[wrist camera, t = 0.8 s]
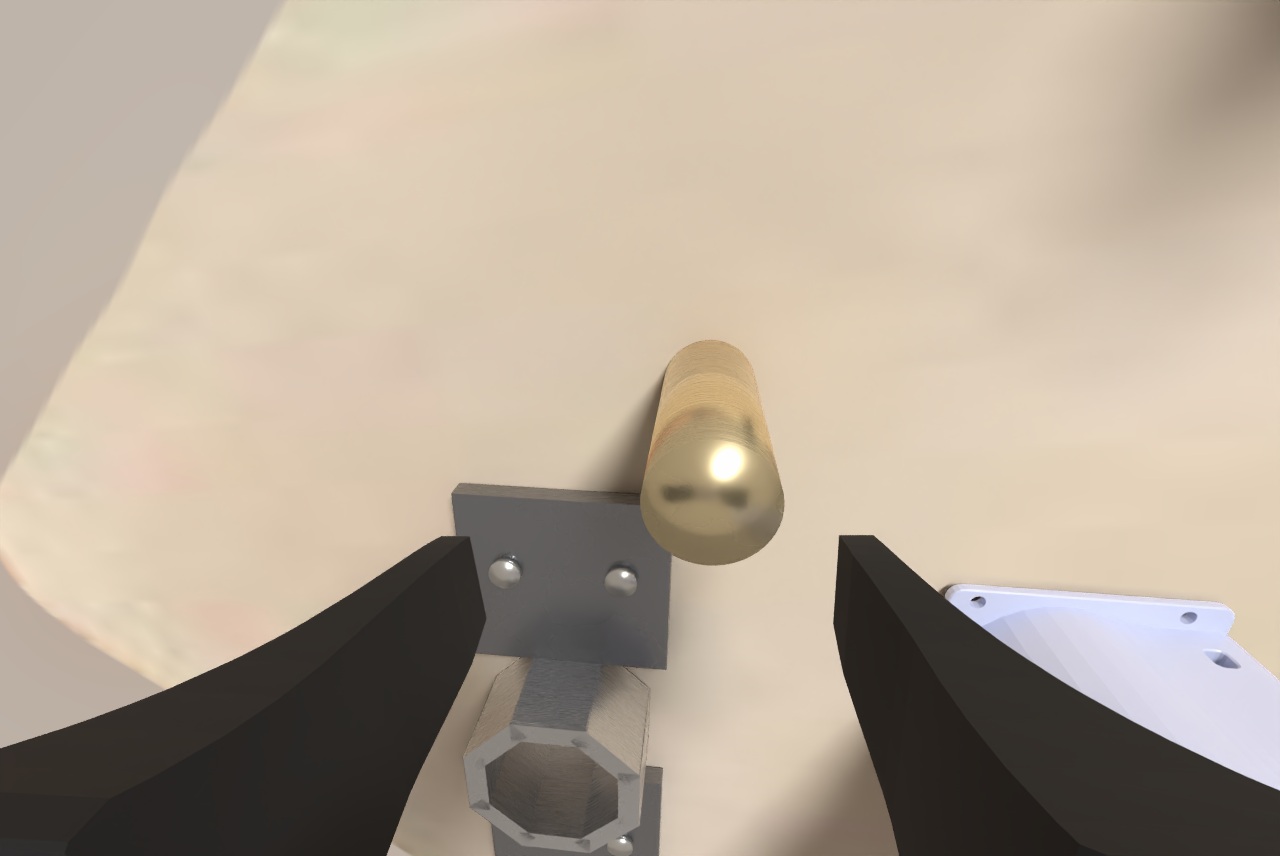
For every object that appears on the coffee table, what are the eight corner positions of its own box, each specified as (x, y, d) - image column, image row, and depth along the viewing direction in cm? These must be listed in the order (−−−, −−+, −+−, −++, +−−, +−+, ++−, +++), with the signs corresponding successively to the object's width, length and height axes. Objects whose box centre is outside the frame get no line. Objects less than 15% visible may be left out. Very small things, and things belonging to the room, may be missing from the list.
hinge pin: (758, 341, 19) (792, 444, 12) (750, 428, 20) (776, 570, 13) (665, 338, 19) (641, 435, 12) (662, 423, 21) (639, 560, 13)
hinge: (459, 482, 22) (411, 543, 19) (674, 496, 22) (668, 561, 18) (502, 853, 31) (474, 945, 27) (658, 871, 30) (651, 968, 26)
